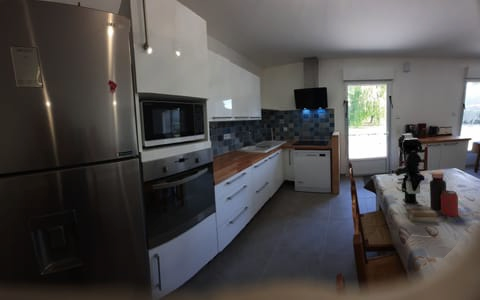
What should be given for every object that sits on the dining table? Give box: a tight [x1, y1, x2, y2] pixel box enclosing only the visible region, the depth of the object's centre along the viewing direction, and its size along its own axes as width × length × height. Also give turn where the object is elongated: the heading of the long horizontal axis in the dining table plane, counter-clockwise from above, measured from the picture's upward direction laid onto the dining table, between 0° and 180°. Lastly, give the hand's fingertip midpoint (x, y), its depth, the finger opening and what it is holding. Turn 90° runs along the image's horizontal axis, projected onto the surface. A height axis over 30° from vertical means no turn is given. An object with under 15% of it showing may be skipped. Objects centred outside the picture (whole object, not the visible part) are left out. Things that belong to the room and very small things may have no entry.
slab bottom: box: [406, 211, 437, 222], centre depth 120 cm, size 10×10×2 cm
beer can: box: [440, 189, 459, 217], centre depth 121 cm, size 7×7×12 cm
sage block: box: [406, 181, 421, 195], centre depth 130 cm, size 5×5×6 cm
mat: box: [404, 212, 440, 225], centre depth 121 cm, size 14×11×1 cm
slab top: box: [405, 205, 438, 218], centre depth 120 cm, size 10×10×2 cm
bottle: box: [429, 171, 447, 212], centre depth 129 cm, size 7×7×20 cm
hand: (412, 189), depth 131 cm, fingers closed on sage block, 5 cm apart
